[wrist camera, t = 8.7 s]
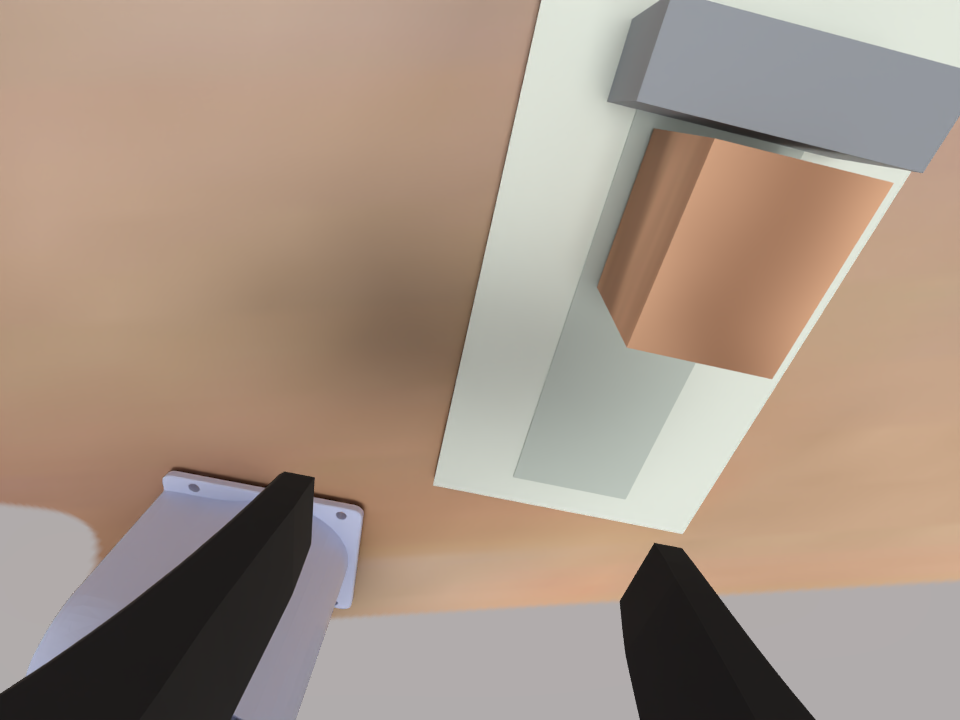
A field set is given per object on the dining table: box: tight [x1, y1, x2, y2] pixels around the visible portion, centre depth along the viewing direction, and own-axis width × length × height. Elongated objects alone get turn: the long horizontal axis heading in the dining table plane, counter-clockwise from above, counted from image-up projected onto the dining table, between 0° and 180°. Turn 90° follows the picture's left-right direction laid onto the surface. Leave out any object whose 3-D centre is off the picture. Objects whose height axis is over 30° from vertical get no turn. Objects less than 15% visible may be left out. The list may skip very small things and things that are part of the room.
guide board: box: [433, 0, 960, 534], centre depth 15 cm, size 12×21×4 cm, turn 168°
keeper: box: [597, 128, 894, 379], centre depth 13 cm, size 4×5×4 cm
